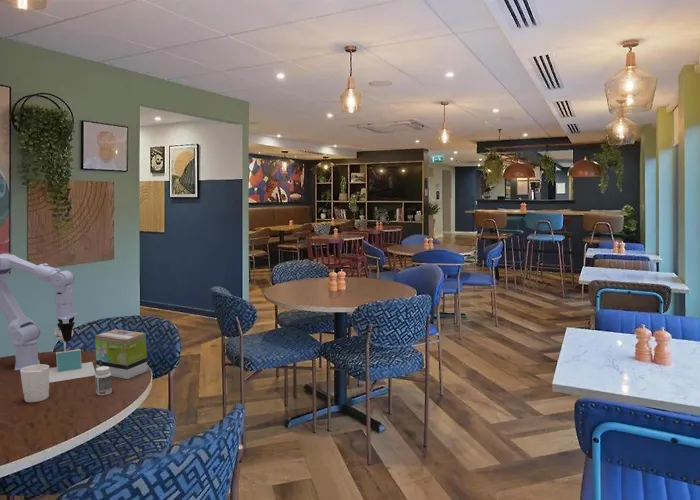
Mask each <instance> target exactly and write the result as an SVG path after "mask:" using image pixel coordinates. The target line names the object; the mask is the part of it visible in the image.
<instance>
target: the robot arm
mask: <svg viewBox="0 0 700 500" xmlns="http://www.w3.org/2000/svg"><path fill="white" fill-rule="evenodd" d="M12 269H16V270H19V271H22V272H27V273H30V274H33V277H34V279H37V280H40V281H42V282H45V283H49V284H50V285H51V286H52V287H53V291H54V298H55V309H56V310H55V311H56V315H55V318H56V319H57V321H58V323H56V324H57V327H59V328H60V330H61V333H62V336H63V339H64V342H71V341H72V337H73V336H72V329H73V328H74V326H75V323H76V322H75V317H77V316H78V315H79V314H78V312H76V313H75V308H74V296H73V283H74V282H75V275H74V273H73V272H71V271H69V270H68V269H65V270H64V269H63V270H62V269H61V268H57V267H56V268H55V267H53V266H49V264H48V263H40V264H35V263H32V262H30V261H28V260H26V259H22V258H20V257H18V256H17V255H15V254H11V253H8V252H6V253H5V252H4V253H1V254H0V310H1V312H2V313H3V314H4V316H5V318H6V320H7V321H8V323H9V324H8V327H7V329H6V330H7V333H8V337H9V340H10V342H11V343H12V344H13V346H14V354H15V355H14V356H15V363H14V371H20V370H21V369H22V368H24V367H27V366H31V365H39V364H41V363H40V359H39V352H38V340H39V339H38V338H39V337H40V336H41V332H42V331H41V328H40V326H39V325H38V324H37V323H35V322H34V321H33V319H32V318H30V317H28V316H26V315H25V314H24V312H23V311H22V308H21V307H20V305H19V304H18V302H17V300H16V298H15V296H14V295H13V293H12V291H11V290H10V288H9V287H8V285H7V283H6V281H5V279H6V277H7V275H8V274H9V273H10V271H12ZM71 336H72V337H71Z"/></svg>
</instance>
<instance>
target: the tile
mask: <svg viewBox="0 0 700 500" xmlns="http://www.w3.org/2000/svg"><path fill="white" fill-rule="evenodd" d="M55 355H56V356H55V358H56V367H57V372H60V371H66V370H73V369H79V368H82V365H81V363H82V353H81V349H80V348H78V349H70V350H66V351H64V350H63V351H56V352H55Z"/></svg>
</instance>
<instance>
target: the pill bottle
mask: <svg viewBox="0 0 700 500" xmlns="http://www.w3.org/2000/svg"><path fill="white" fill-rule="evenodd" d="M95 372H96V375H95V376H94V377H95V378H94V379H95V392H96V395H97V396H106V395H110V394H112V393H113V383H112V382H113V381H112V376H111V373H110V369H109V367H107V366H104V367H99V368H97V367H96V368H95Z"/></svg>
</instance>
